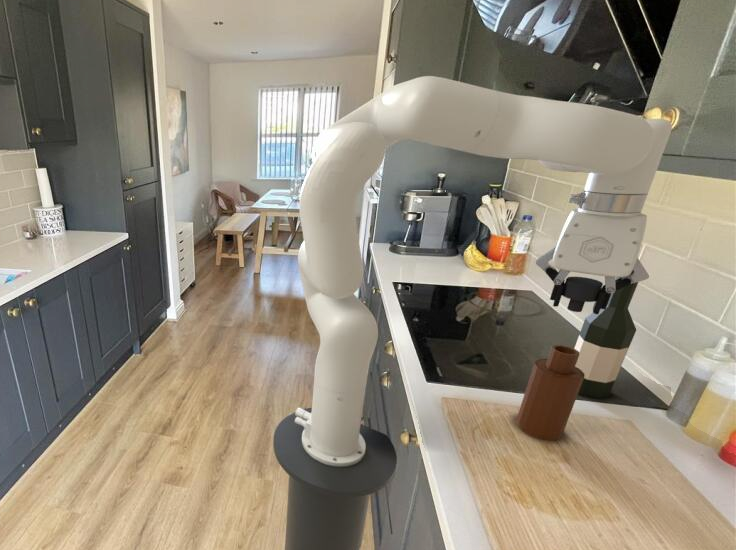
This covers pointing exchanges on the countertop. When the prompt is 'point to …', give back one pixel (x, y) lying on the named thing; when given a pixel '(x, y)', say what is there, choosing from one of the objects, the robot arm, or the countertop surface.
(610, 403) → the countertop surface
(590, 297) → the bung
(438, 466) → the countertop surface
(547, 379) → the brown bottle
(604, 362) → the wine bottle
